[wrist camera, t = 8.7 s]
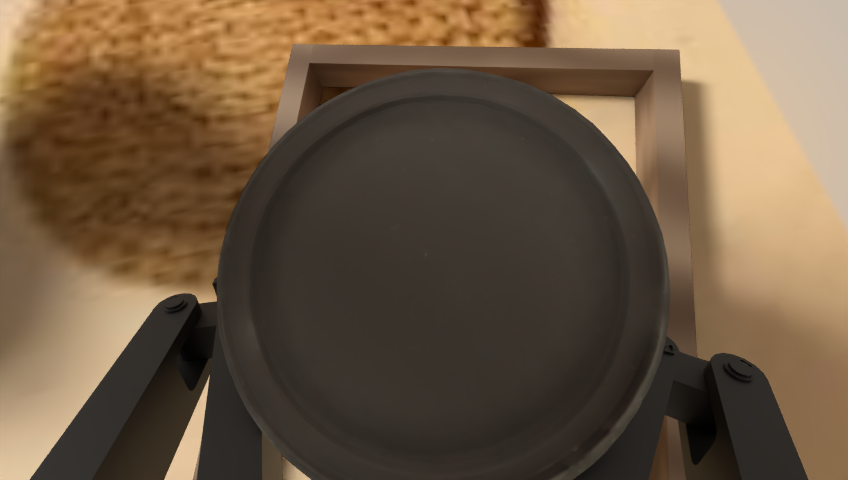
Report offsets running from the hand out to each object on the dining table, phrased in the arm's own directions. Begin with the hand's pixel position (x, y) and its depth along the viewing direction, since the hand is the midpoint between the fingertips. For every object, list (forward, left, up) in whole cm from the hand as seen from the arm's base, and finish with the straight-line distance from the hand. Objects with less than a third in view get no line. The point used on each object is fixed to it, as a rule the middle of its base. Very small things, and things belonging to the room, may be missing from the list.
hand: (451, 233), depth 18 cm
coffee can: (-3, -1, -5) cm, 6 cm away
